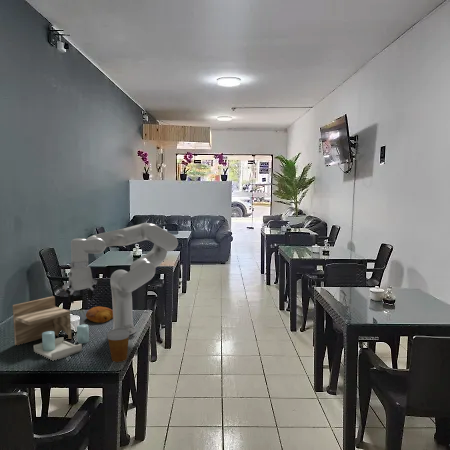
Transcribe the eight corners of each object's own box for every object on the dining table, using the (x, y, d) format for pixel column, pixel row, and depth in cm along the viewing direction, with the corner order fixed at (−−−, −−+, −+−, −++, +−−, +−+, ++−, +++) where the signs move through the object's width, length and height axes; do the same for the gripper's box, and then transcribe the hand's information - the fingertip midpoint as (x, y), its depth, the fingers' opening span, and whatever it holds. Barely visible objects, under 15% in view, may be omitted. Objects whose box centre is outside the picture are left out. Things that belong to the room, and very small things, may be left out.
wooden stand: (71, 339, 206) (69, 300, 204) (30, 352, 191) (28, 310, 189) (55, 333, 216) (53, 296, 214) (15, 344, 200) (12, 305, 198)
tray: (82, 350, 191) (81, 332, 191) (52, 361, 181) (51, 342, 180) (63, 343, 202) (62, 325, 201) (33, 352, 191) (32, 334, 190)
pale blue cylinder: (91, 341, 204) (90, 325, 203) (81, 344, 200) (80, 328, 199) (85, 338, 207) (84, 323, 206) (75, 341, 203) (74, 326, 202)
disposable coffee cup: (110, 355, 186) (108, 328, 185) (132, 354, 187) (131, 327, 186) (105, 364, 177) (104, 336, 175) (129, 363, 177) (128, 335, 176)
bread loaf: (93, 329, 228) (93, 315, 226) (82, 318, 239) (82, 305, 238) (118, 322, 236) (118, 309, 235) (107, 312, 248) (106, 299, 246)
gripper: (66, 268, 192) (67, 305, 194) (100, 263, 205) (101, 298, 207) (58, 266, 197) (59, 302, 199) (92, 261, 210) (92, 295, 212)
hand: (80, 300), depth 203 cm, fingers open, 9 cm apart
